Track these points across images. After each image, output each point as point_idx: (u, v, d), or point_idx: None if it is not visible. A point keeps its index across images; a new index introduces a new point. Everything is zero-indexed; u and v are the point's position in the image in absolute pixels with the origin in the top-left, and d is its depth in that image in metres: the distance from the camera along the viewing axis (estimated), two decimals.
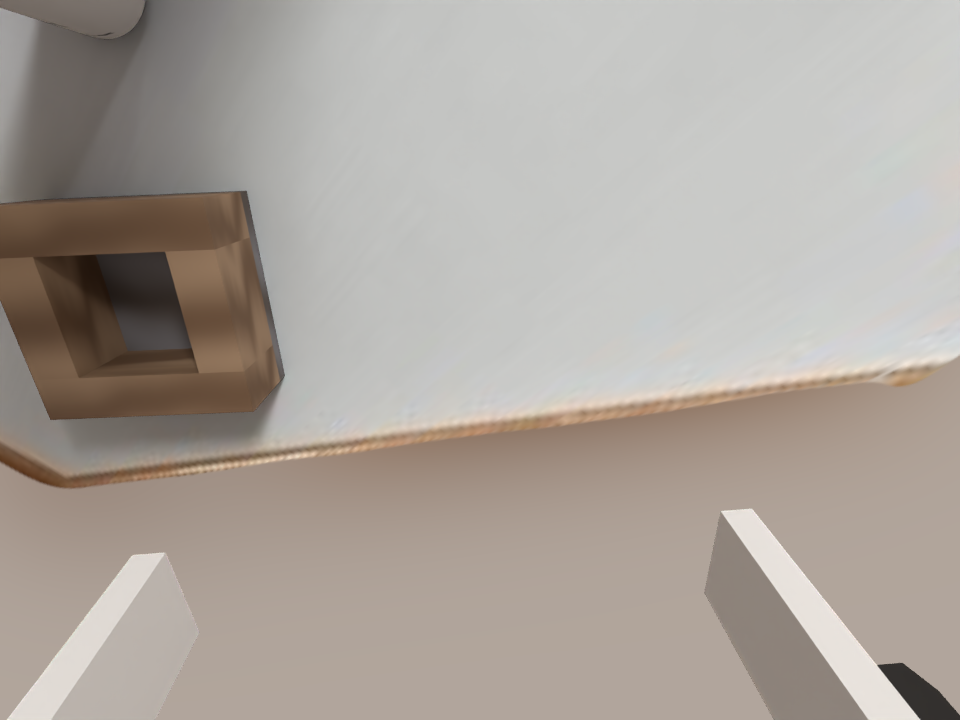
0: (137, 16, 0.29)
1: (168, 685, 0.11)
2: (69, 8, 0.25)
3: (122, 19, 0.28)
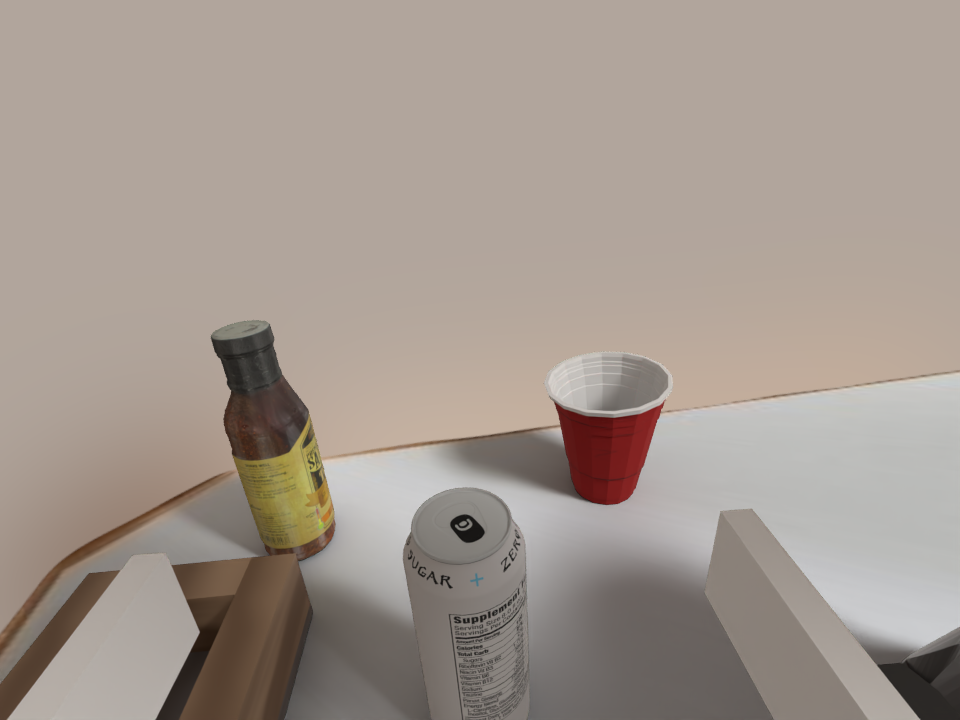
0: None
1: (168, 685, 0.11)
2: (426, 677, 0.26)
3: None
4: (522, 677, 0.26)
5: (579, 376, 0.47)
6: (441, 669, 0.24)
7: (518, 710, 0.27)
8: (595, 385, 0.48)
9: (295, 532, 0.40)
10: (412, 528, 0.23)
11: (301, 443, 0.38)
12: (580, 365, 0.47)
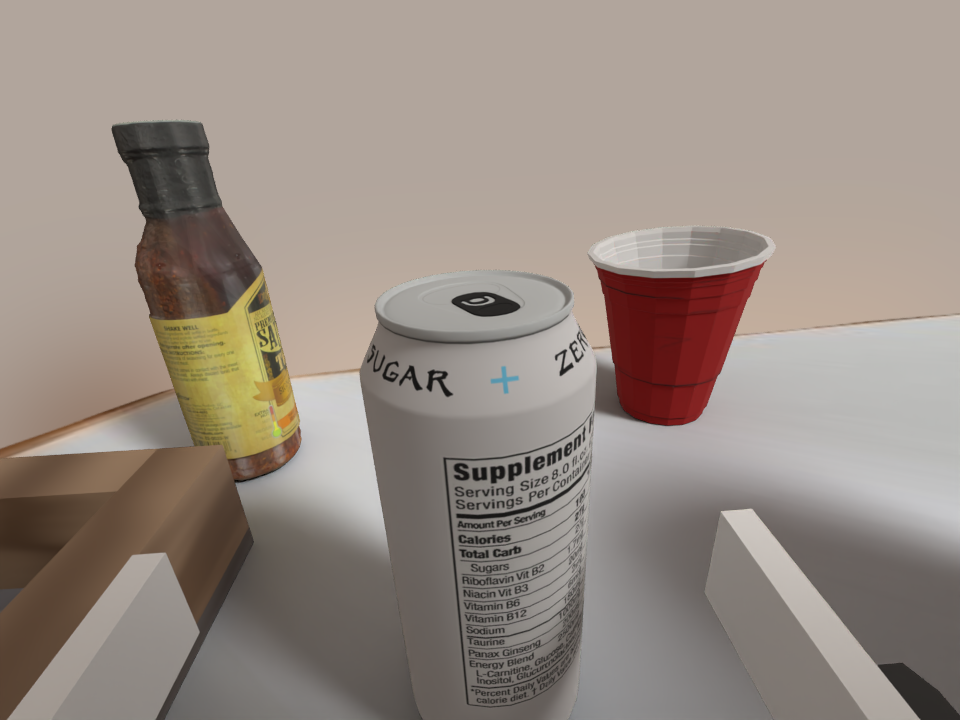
0: None
1: (168, 685, 0.11)
2: (403, 614, 0.15)
3: (423, 704, 0.16)
4: (575, 620, 0.14)
5: (632, 259, 0.36)
6: (428, 590, 0.13)
7: (565, 680, 0.15)
8: None
9: (238, 436, 0.28)
10: (377, 304, 0.12)
11: (247, 304, 0.27)
12: (633, 244, 0.35)
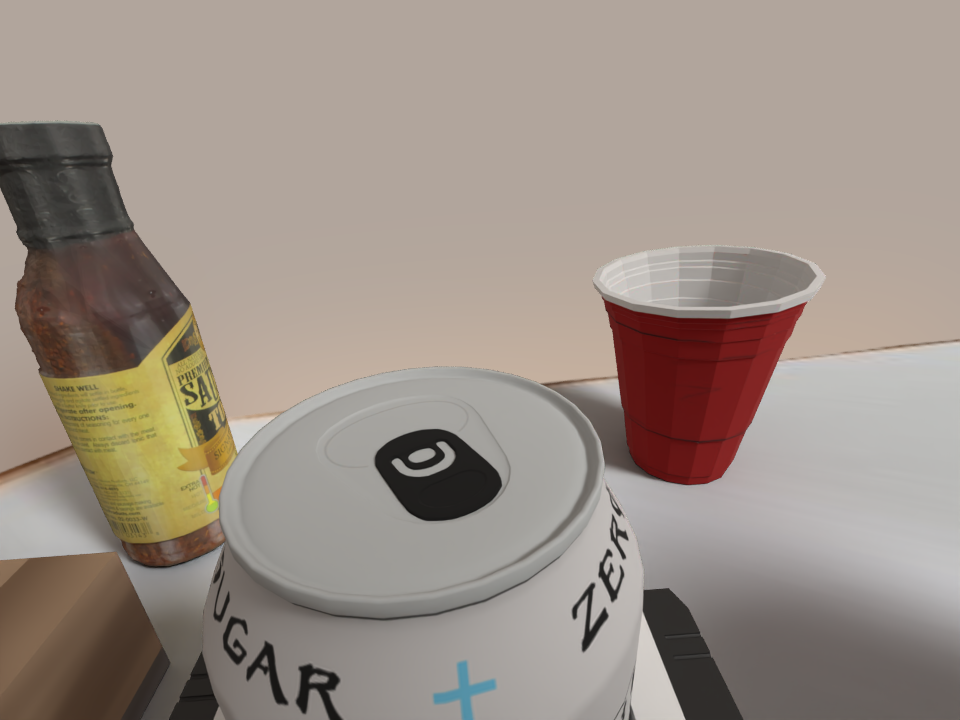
0: None
1: None
2: None
3: None
4: None
5: (643, 284, 0.30)
6: None
7: None
8: (667, 300, 0.31)
9: (160, 515, 0.23)
10: (233, 467, 0.06)
11: (165, 354, 0.21)
12: (645, 266, 0.30)
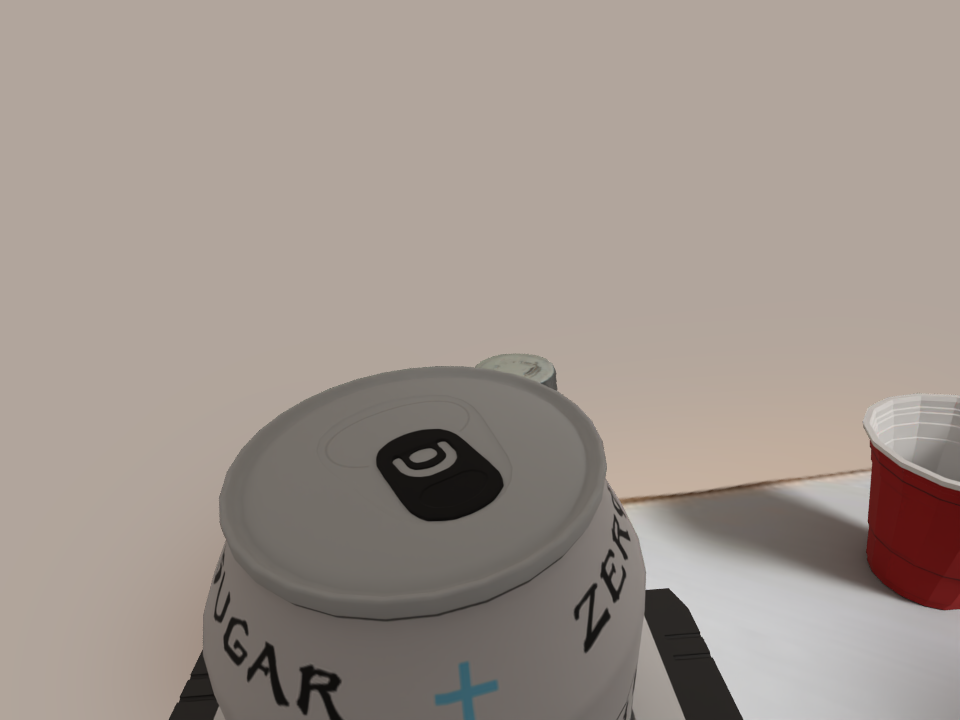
0: None
1: None
2: None
3: None
4: None
5: (888, 427, 0.34)
6: None
7: None
8: (907, 439, 0.35)
9: None
10: (234, 467, 0.06)
11: None
12: (891, 412, 0.34)
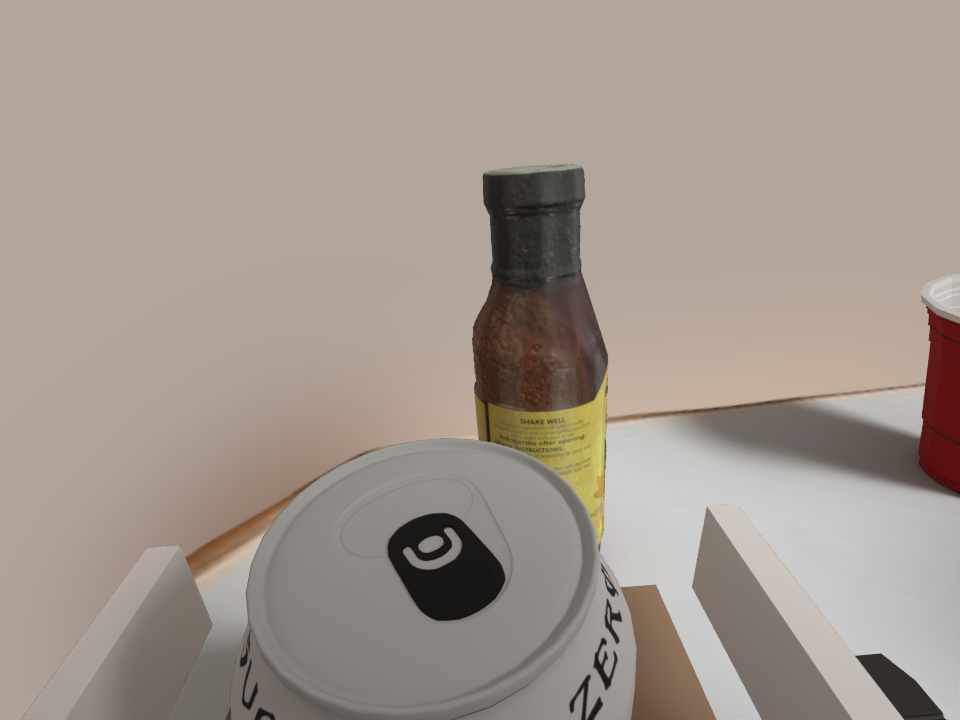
0: None
1: (183, 676, 0.11)
2: None
3: None
4: None
5: None
6: None
7: None
8: None
9: None
10: (257, 557, 0.07)
11: (605, 386, 0.22)
12: (949, 291, 0.31)
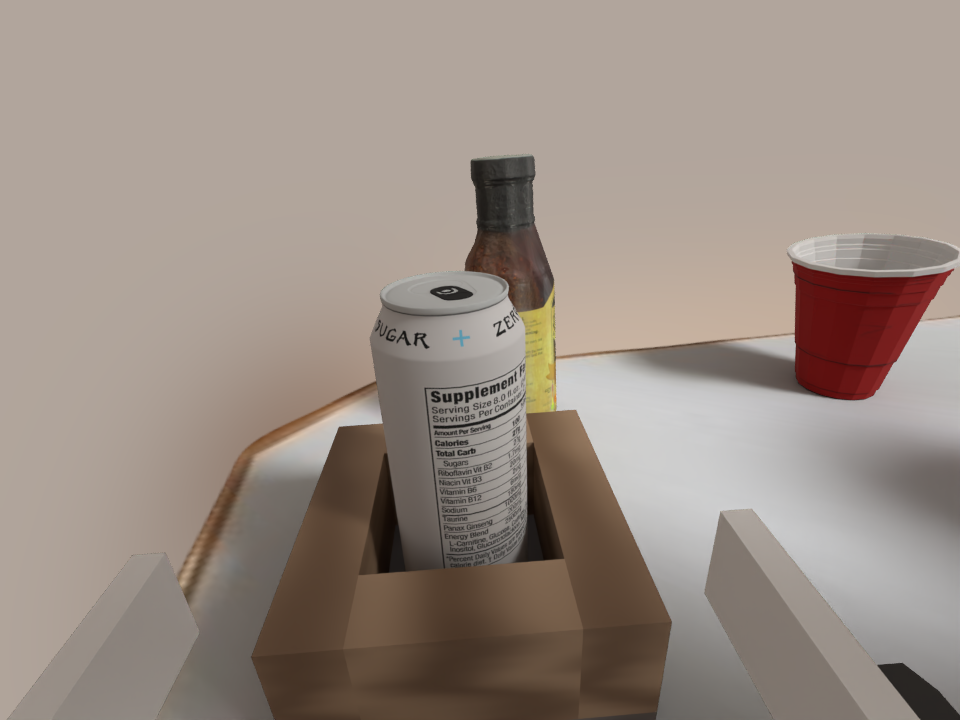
0: None
1: (168, 685, 0.11)
2: (399, 510, 0.21)
3: None
4: (519, 512, 0.21)
5: (811, 261, 0.42)
6: (416, 483, 0.19)
7: (513, 557, 0.22)
8: None
9: (532, 408, 0.35)
10: (381, 293, 0.18)
11: (552, 300, 0.33)
12: (812, 248, 0.42)
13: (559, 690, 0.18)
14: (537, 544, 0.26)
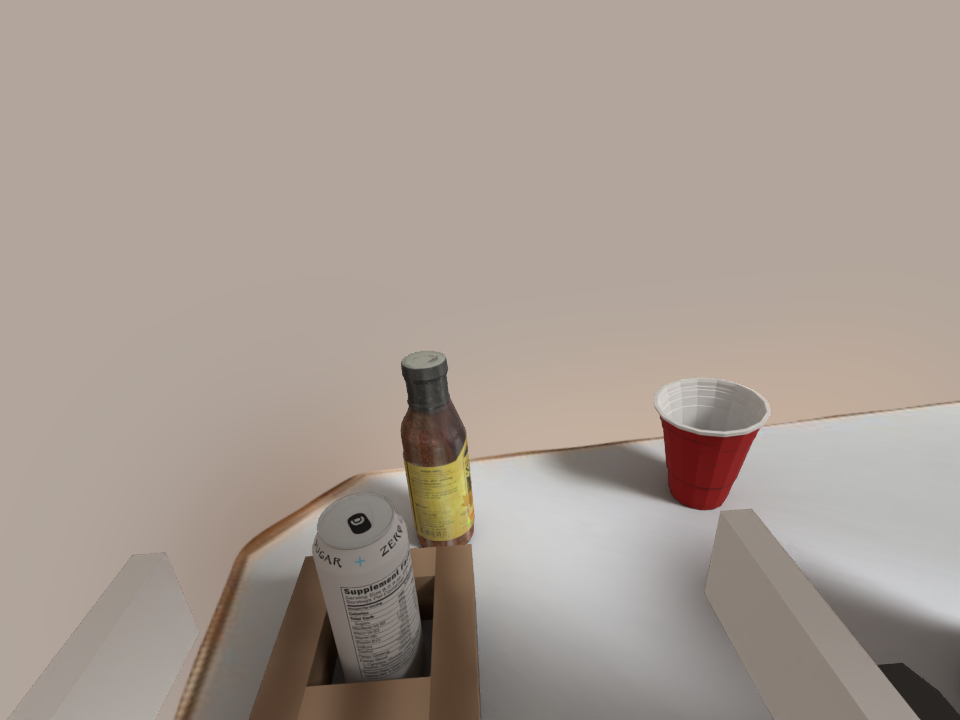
0: None
1: (168, 685, 0.11)
2: None
3: (346, 679, 0.35)
4: (409, 641, 0.34)
5: (677, 398, 0.55)
6: (341, 631, 0.32)
7: (407, 667, 0.34)
8: (691, 406, 0.55)
9: (451, 527, 0.47)
10: (318, 522, 0.31)
11: (463, 453, 0.46)
12: (679, 389, 0.55)
13: None
14: None
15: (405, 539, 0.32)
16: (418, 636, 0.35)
